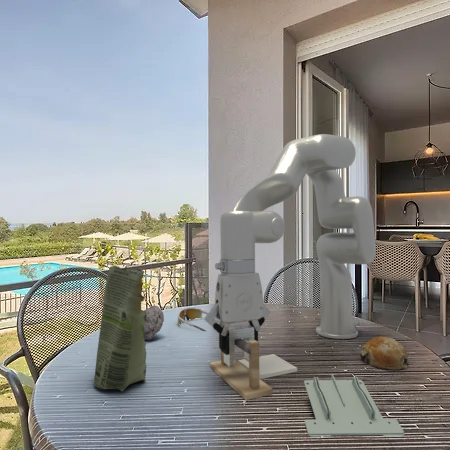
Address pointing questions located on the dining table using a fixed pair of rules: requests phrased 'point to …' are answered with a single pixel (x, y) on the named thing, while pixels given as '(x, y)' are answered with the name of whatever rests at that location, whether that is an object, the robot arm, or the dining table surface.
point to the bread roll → (384, 353)
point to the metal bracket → (346, 410)
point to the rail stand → (244, 372)
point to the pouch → (121, 331)
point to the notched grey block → (238, 333)
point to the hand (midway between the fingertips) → (239, 349)
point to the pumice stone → (153, 322)
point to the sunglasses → (190, 315)
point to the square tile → (271, 366)
